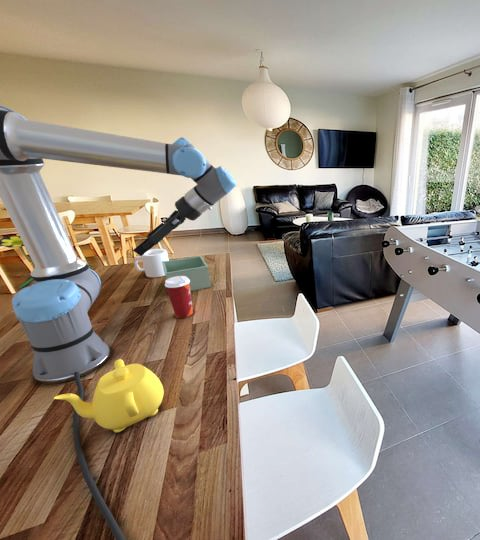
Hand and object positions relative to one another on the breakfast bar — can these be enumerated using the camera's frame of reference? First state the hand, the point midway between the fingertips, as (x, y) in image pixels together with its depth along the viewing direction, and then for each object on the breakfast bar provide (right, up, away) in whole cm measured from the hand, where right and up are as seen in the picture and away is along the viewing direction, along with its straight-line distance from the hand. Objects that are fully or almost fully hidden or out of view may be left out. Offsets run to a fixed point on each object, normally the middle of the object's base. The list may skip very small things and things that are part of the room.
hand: (144, 244), depth 94 cm
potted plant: (-30, -25, +6) cm, 39 cm away
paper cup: (+6, -25, +11) cm, 28 cm away
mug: (-27, -10, +43) cm, 52 cm away
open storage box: (-6, -15, +34) cm, 37 cm away
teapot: (+17, -42, -29) cm, 54 cm away
